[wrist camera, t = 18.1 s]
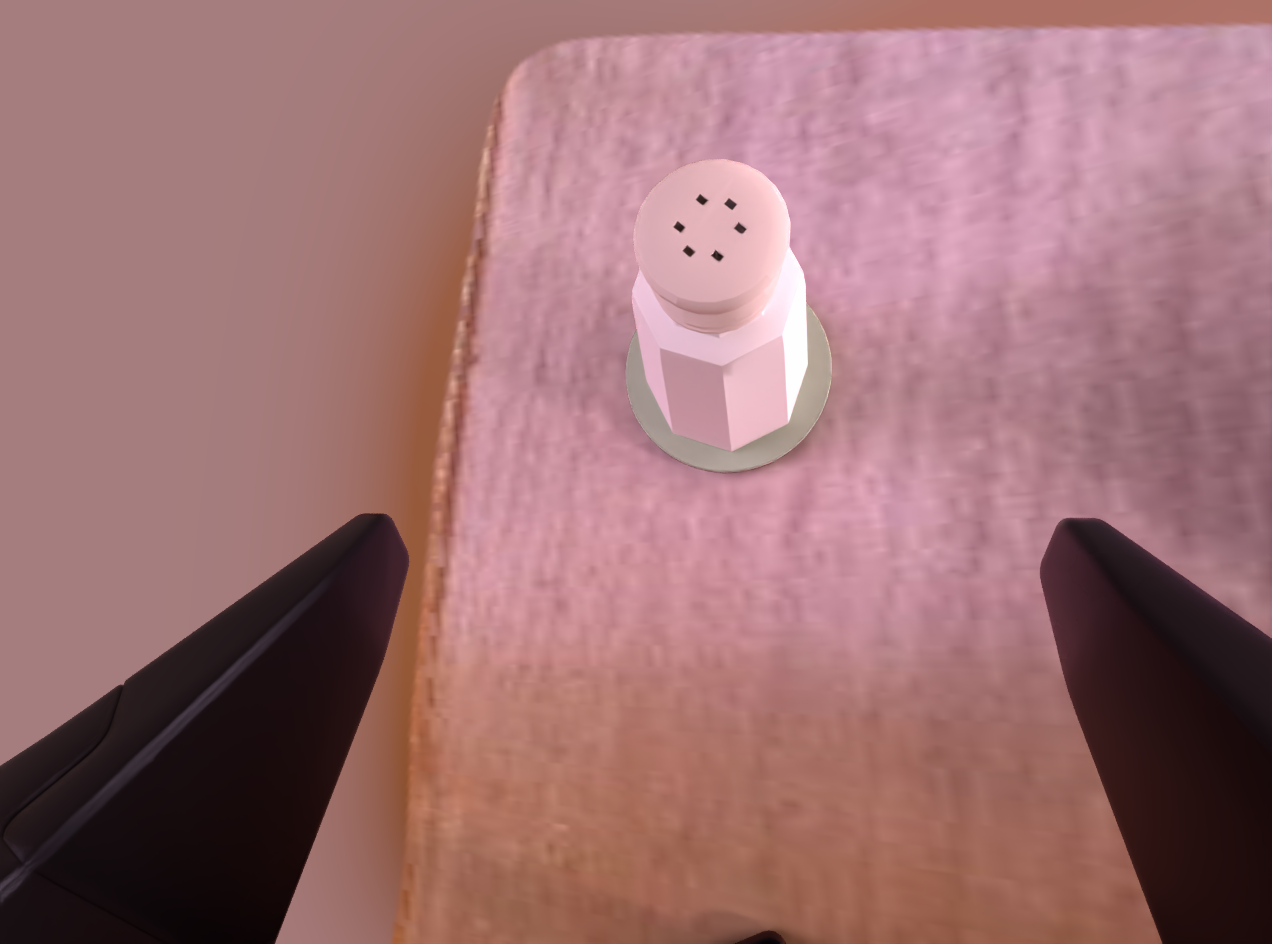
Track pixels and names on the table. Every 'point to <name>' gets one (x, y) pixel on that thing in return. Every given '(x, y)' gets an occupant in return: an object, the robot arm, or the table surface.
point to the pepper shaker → (719, 303)
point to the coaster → (755, 452)
